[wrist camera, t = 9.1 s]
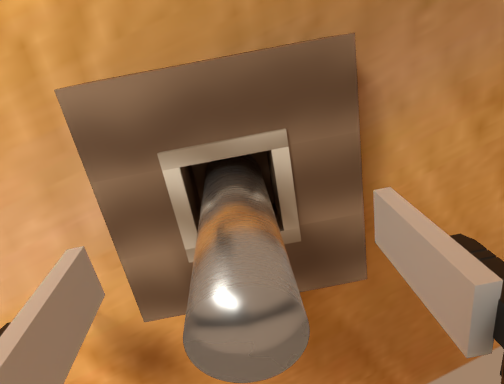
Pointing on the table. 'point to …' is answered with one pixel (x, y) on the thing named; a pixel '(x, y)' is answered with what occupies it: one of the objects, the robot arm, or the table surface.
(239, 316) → the pin
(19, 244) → the table surface
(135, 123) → the bore block
